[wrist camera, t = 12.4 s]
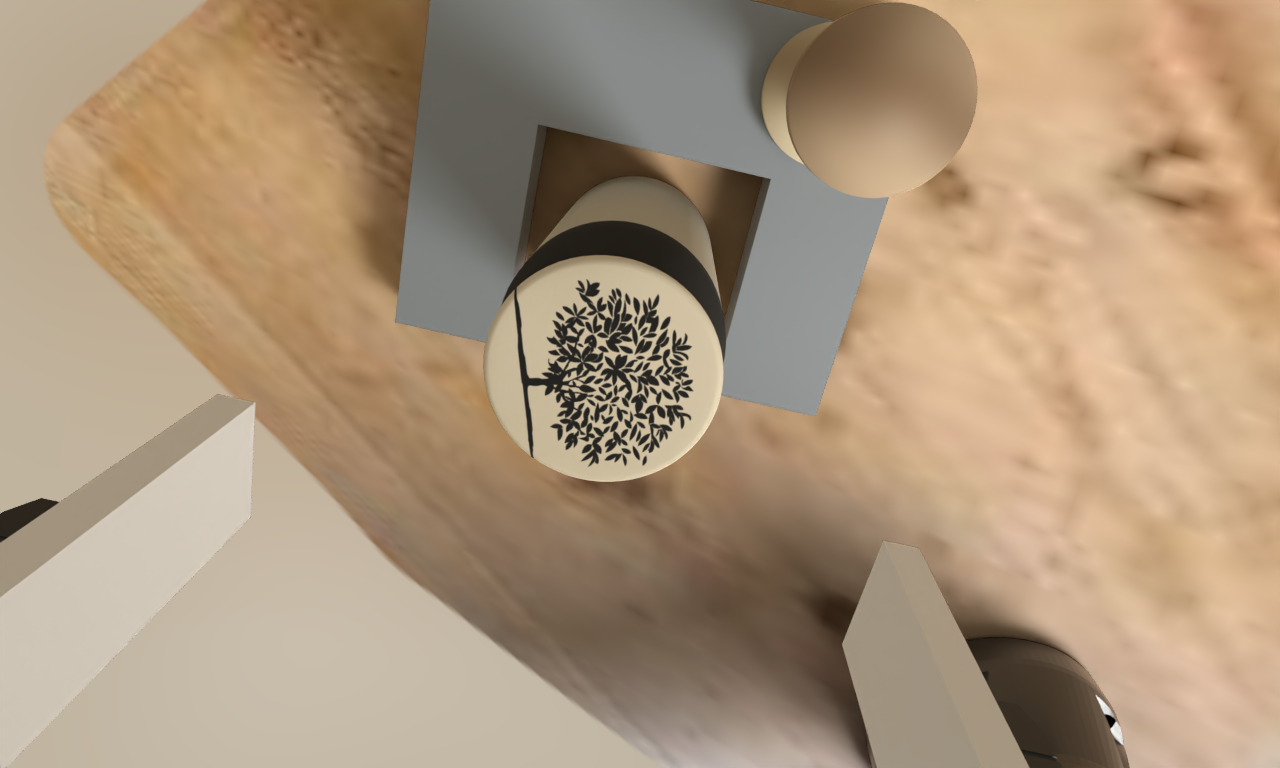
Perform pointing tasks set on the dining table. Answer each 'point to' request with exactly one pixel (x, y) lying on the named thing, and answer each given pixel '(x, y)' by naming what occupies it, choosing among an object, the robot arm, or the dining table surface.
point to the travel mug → (611, 336)
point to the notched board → (639, 117)
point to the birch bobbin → (872, 98)
